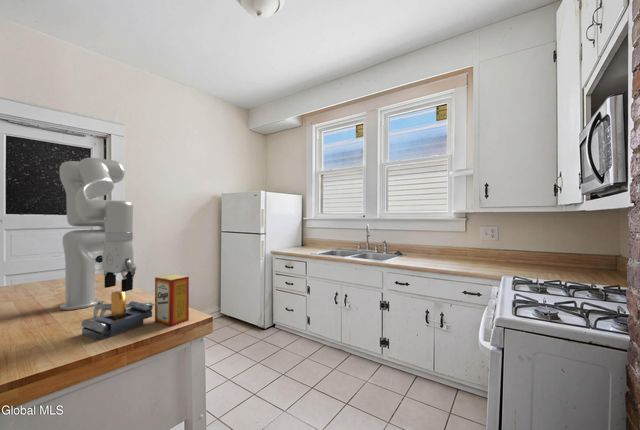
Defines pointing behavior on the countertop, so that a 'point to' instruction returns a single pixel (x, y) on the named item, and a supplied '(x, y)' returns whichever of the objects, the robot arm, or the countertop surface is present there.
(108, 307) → the caliper
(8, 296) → the countertop surface
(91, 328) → the grey bench vise
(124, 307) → the gold tall block
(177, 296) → the baking soda box
